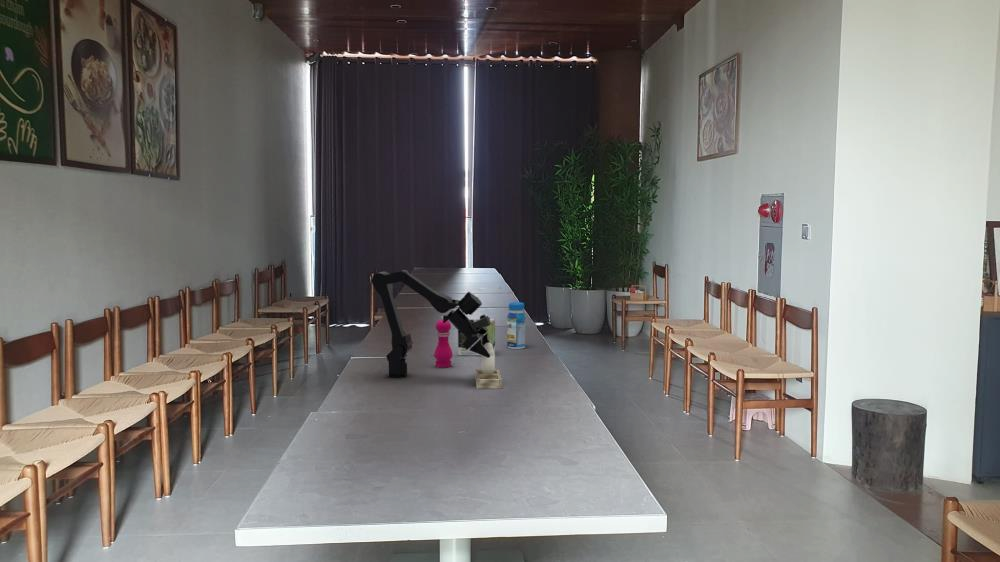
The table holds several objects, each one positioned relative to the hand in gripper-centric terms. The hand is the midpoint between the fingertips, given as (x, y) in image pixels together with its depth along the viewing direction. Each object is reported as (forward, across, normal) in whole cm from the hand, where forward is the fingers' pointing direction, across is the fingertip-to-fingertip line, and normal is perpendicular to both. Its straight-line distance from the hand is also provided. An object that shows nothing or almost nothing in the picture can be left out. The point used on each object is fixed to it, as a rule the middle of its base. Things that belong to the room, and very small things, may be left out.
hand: (491, 354), depth 274 cm
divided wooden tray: (+6, -4, +7) cm, 10 cm away
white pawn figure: (+5, 0, +7) cm, 9 cm away
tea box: (-4, +45, +18) cm, 49 cm away
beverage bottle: (+6, +62, +8) cm, 63 cm away
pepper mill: (-10, +20, +23) cm, 32 cm away
